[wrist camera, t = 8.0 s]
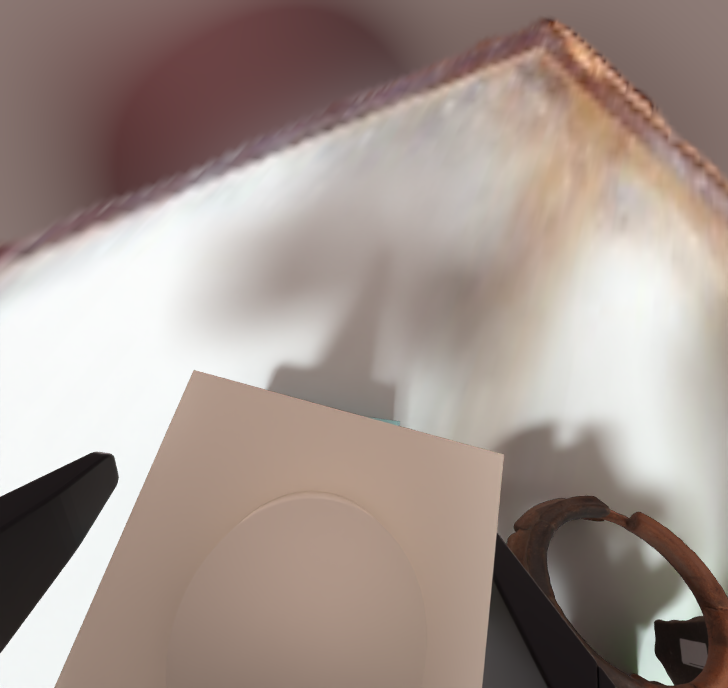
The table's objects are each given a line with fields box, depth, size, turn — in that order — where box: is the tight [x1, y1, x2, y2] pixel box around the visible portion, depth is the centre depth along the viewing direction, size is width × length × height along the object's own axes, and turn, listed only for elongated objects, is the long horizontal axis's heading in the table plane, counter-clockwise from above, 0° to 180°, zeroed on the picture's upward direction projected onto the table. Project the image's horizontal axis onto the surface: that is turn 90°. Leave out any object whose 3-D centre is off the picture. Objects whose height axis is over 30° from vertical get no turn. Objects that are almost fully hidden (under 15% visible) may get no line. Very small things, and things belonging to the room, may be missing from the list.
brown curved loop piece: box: [507, 496, 728, 688], centre depth 16 cm, size 12×10×8 cm
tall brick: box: [54, 370, 504, 688], centre depth 10 cm, size 4×4×14 cm
